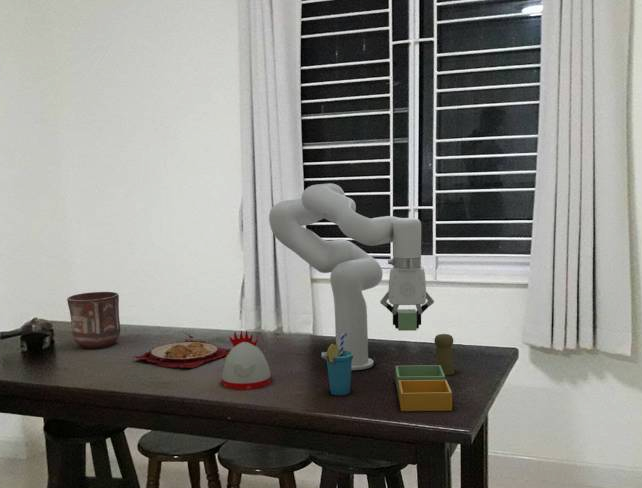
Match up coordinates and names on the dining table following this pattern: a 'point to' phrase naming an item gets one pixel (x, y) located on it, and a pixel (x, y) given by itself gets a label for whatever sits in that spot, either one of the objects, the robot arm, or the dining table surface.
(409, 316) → the green block
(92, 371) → the dining table surface
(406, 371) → the green bin
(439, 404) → the ochre bin
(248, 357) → the kitchen timer
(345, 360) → the cup
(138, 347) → the dining table surface
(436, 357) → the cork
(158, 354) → the plate with food
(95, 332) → the pottery
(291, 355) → the dining table surface
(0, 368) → the dining table surface
